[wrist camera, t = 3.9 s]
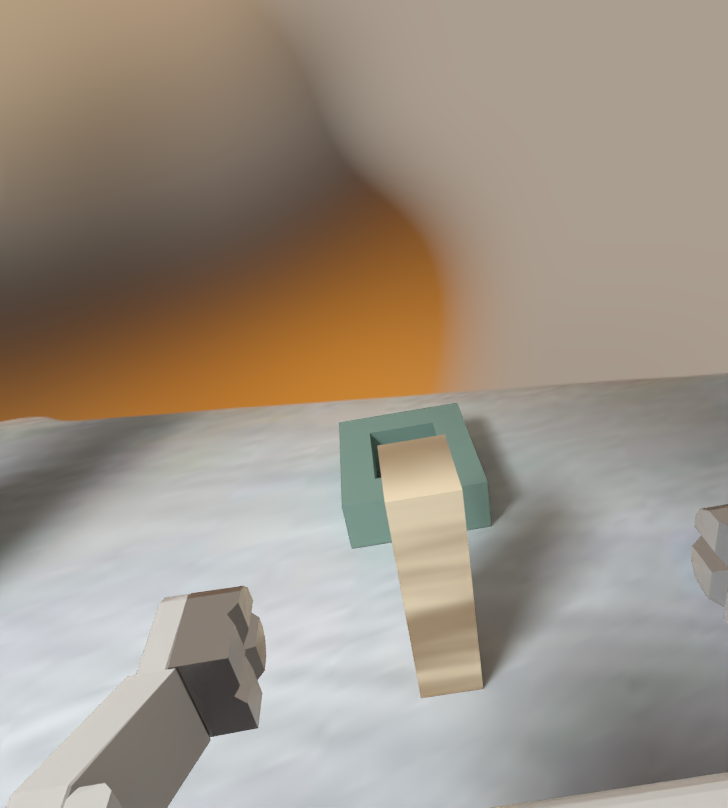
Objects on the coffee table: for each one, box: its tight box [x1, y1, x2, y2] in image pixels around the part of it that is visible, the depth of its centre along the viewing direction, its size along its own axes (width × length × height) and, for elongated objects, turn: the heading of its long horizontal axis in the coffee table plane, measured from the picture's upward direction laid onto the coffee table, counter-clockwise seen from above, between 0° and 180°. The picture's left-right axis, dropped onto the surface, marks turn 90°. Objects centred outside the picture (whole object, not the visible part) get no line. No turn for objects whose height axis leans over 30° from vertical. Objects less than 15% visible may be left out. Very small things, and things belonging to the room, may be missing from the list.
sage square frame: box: [339, 403, 491, 548], centre depth 42 cm, size 10×9×4 cm
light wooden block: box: [377, 434, 483, 698], centre depth 28 cm, size 4×3×12 cm
